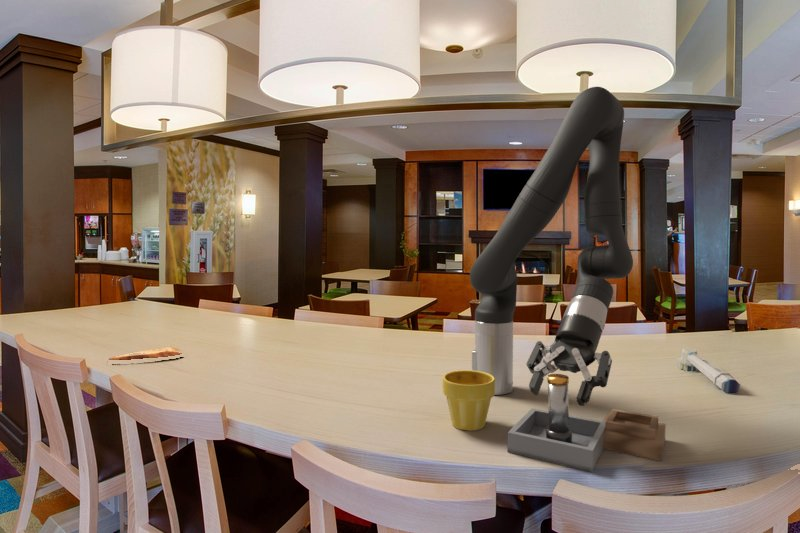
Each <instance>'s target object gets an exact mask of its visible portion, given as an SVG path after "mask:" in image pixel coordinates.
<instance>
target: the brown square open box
mask: <svg viewBox="0 0 800 533" xmlns="http://www.w3.org/2000/svg"><path fill="white" fill-rule="evenodd" d="M659 420H660V419H659V416H658V415H652V414H646V413H640V412H633V411H628V410H623V409H617V408H612V409H611V411H610V413H606V415H605V417H604V419H603V420H602V421H604V422H606V426H605V431H604V449H603V450H608V451H613V452H617V453H622V454H627V455H631V456H634V457H635V456H636V457H641V458H645V459H650V460H655V461H658V462H659V461H660V462H662V459H663V456H664V454H663V453H664V449H665V444H666V426H667V425H666V424H667V423H663V422H659Z"/></svg>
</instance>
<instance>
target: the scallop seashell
mask: <svg viewBox="0 0 800 533" xmlns="http://www.w3.org/2000/svg"><path fill="white" fill-rule="evenodd" d="M175 351H181V350H180V349H179V348H176V347H173V346H167V347H159V348H158V347H157V348H151V349H145V350H141V351H135V352H130V353H124V355H123V354H121V355H115V356H112V357H109V359H108V360H131V359H143V358H158V357H168V356H175V355H180V354H182V353H179V352H175ZM133 353H141V354H140V355H131V356H130V355H129V354H133ZM143 353H145V354H143Z"/></svg>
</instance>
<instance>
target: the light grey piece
mask: <svg viewBox="0 0 800 533" xmlns="http://www.w3.org/2000/svg"><path fill="white" fill-rule="evenodd" d="M677 361H678V368H679V370H682V371H685V370H687V371H686V372H690V371H696V372H698V371H700V372H699V373H702V375H703V376H705V377H706V378H707V379H708V380H710V381H711V382H712V383H713V386H715V387H716V388H717V390H721V391H722V392H723V393H725V394H726V393H736V394H737V393H738V392H740V389H741V384H740V383H739V382H738V381H737V380H736V379H735V378H734V377H733V376H732V375H731V373H729V372H725V371H723V370H722V369H721V368H720V367H718V366H716V365H714V364H713V363H711V362H709V361H708V360H706V359H704V358H703V357H702V356H700V355H698V352H697V349H695V348H693V347H684V348H683V347H682V350H681V355H679V356H677ZM697 370H698V371H697Z"/></svg>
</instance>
